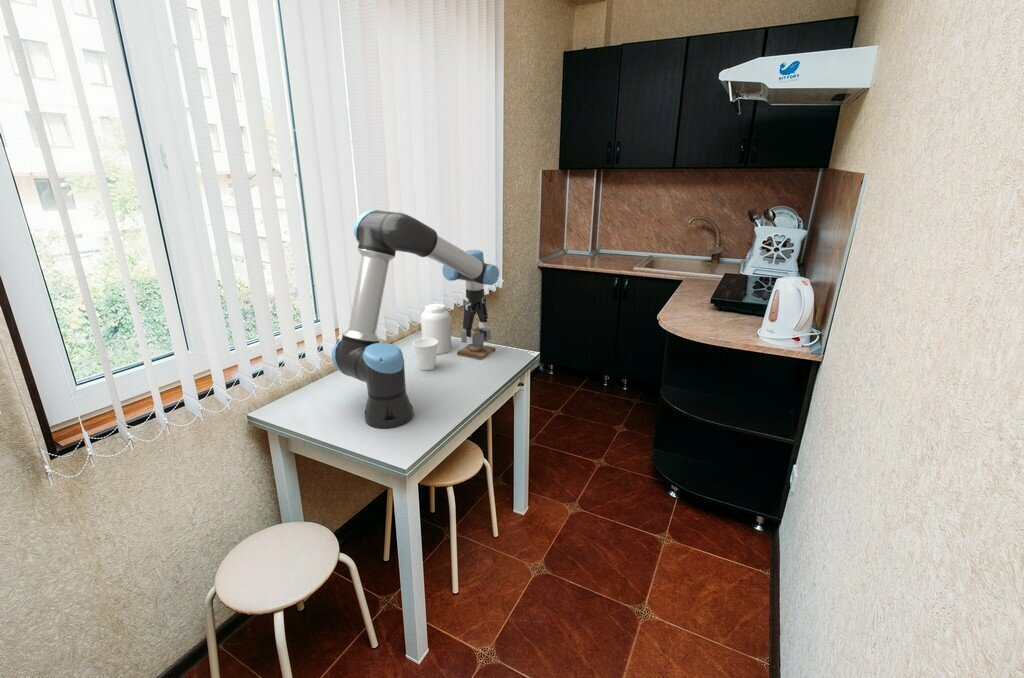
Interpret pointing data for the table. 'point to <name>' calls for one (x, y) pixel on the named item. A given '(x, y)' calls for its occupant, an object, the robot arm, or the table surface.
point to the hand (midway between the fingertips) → (476, 339)
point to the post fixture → (476, 349)
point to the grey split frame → (477, 336)
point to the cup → (425, 352)
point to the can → (437, 326)
